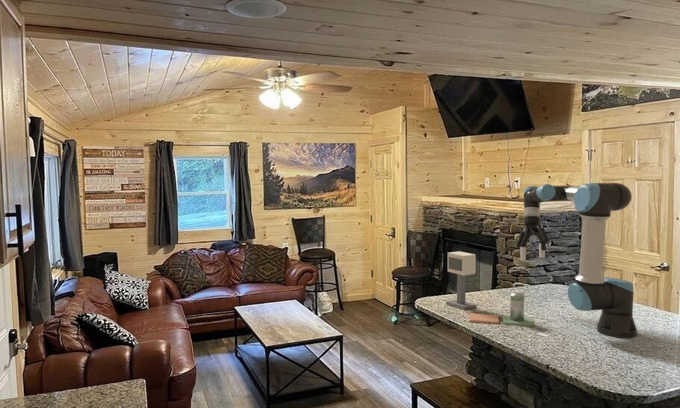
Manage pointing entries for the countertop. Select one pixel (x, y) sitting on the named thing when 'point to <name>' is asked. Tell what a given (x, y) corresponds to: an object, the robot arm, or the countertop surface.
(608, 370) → the countertop surface
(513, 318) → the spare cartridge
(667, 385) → the countertop surface
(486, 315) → the terracotta tile
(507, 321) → the green tile
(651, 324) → the countertop surface
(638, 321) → the countertop surface
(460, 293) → the mounted unit
